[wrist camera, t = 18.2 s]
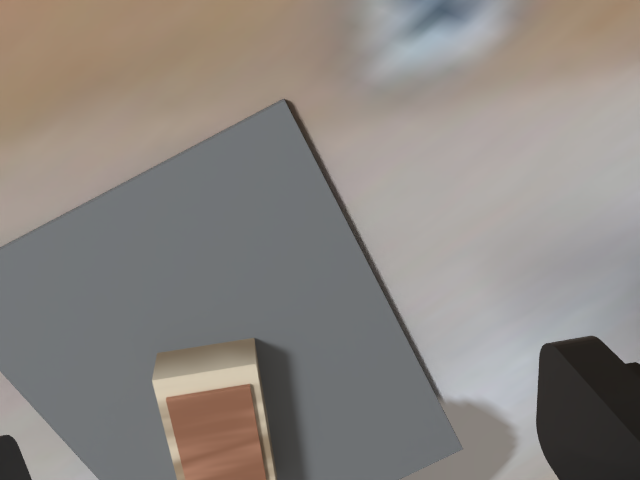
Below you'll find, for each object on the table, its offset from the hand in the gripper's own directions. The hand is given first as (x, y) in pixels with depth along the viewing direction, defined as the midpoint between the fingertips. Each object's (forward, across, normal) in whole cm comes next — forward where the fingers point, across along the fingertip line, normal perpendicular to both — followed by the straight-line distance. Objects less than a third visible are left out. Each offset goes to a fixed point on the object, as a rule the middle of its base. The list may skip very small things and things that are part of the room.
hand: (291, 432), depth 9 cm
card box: (+26, +5, +28) cm, 38 cm away
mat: (+28, +4, +18) cm, 34 cm away
